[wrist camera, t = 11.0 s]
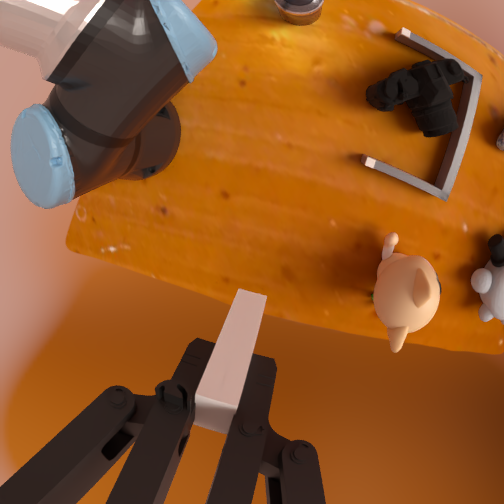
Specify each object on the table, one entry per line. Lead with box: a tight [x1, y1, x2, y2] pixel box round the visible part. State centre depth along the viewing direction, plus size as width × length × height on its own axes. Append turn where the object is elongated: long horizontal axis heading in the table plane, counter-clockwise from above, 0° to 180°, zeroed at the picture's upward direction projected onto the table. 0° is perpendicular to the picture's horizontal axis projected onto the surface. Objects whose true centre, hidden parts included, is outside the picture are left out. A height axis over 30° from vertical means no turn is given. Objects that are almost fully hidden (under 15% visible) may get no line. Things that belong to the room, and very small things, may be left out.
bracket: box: [361, 28, 482, 202], centre depth 29 cm, size 14×21×3 cm, turn 166°
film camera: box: [366, 59, 469, 137], centre depth 26 cm, size 15×10×9 cm, turn 120°
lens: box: [274, 0, 324, 25], centre depth 24 cm, size 6×6×6 cm
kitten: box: [371, 232, 441, 352], centre depth 36 cm, size 15×10×15 cm
